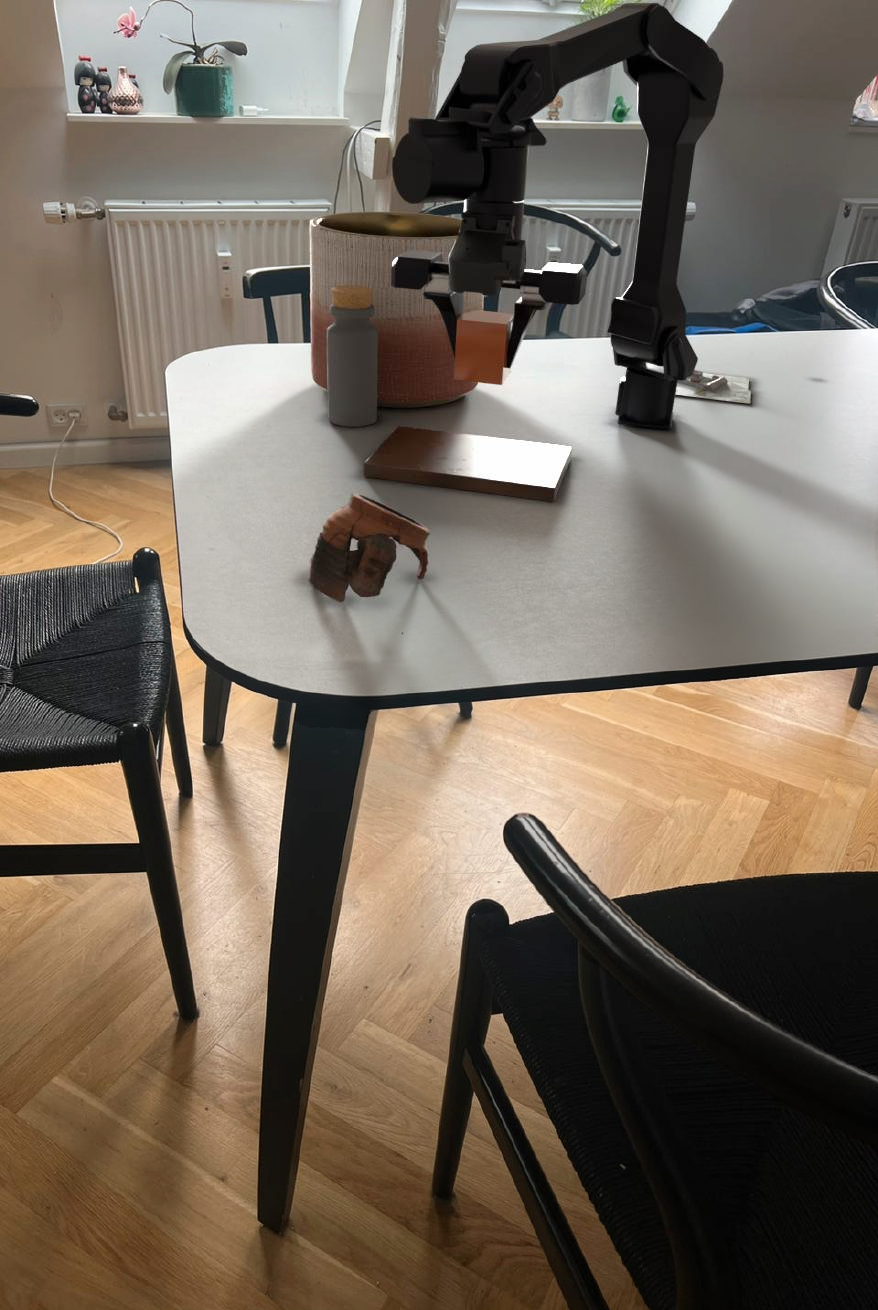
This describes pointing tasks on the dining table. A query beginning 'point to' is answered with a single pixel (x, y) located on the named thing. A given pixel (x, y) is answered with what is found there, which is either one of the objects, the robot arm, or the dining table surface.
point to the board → (470, 463)
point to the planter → (388, 302)
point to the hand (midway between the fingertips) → (483, 364)
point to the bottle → (352, 358)
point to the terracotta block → (482, 346)
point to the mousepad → (715, 387)
